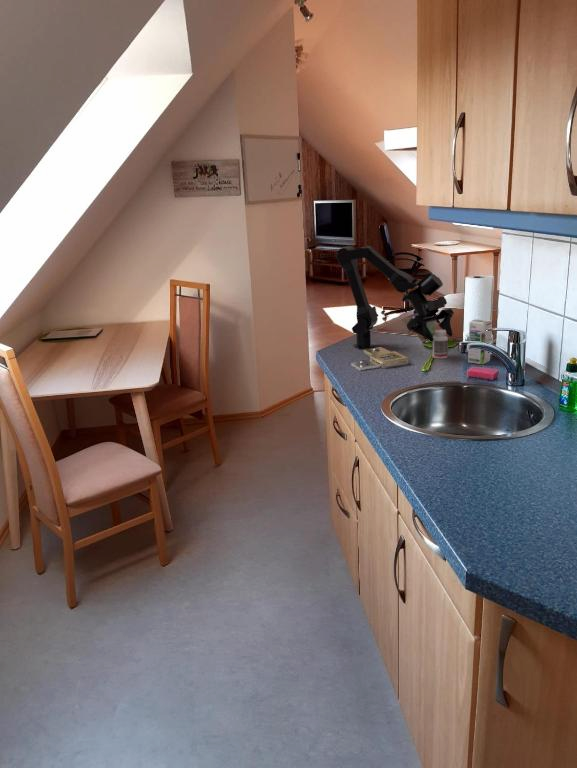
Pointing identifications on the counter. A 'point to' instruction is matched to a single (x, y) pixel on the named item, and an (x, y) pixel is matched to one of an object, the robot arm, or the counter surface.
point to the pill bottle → (440, 344)
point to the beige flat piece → (380, 359)
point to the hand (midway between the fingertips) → (442, 338)
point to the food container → (431, 328)
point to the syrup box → (479, 334)
